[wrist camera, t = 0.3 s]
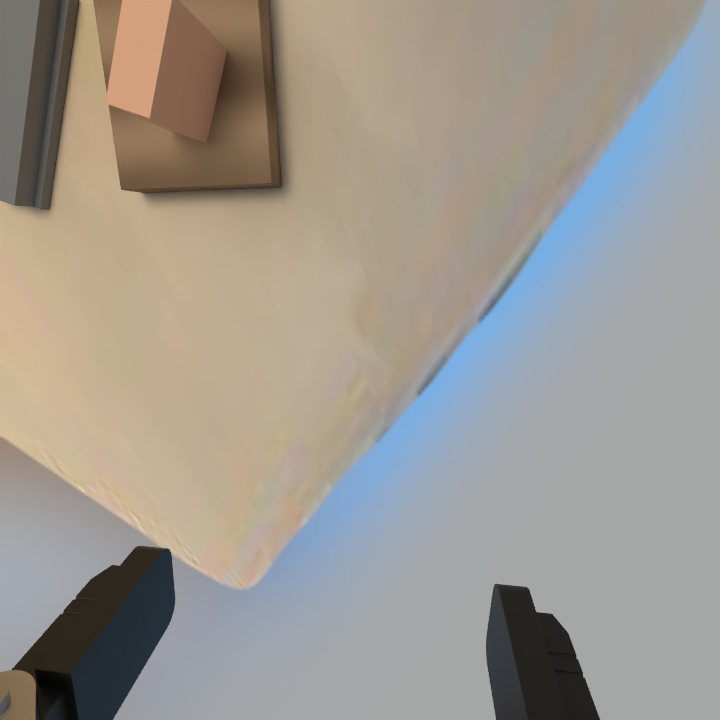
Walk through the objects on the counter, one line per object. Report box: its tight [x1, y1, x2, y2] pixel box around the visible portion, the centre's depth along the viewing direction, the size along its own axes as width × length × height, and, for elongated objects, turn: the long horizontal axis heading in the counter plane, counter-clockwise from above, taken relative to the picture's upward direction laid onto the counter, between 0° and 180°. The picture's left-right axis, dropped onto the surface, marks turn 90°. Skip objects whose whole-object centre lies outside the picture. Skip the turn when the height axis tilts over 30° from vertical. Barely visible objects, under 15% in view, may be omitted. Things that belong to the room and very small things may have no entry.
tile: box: [105, 0, 227, 144], centre depth 30 cm, size 6×2×8 cm, turn 162°
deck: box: [93, 0, 282, 193], centre depth 35 cm, size 14×11×3 cm
